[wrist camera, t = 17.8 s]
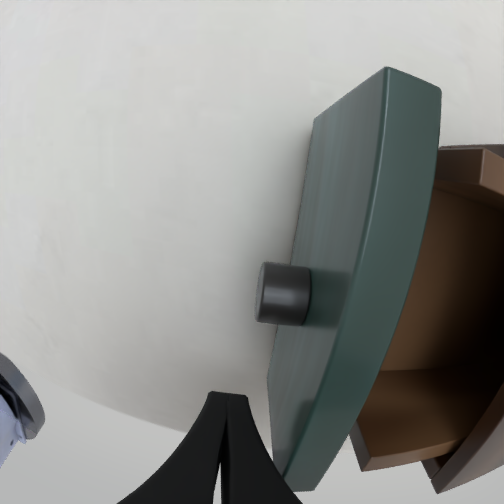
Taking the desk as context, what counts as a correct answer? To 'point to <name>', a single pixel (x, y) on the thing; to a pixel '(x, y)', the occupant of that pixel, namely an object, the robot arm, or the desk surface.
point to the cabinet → (481, 437)
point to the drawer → (386, 288)
